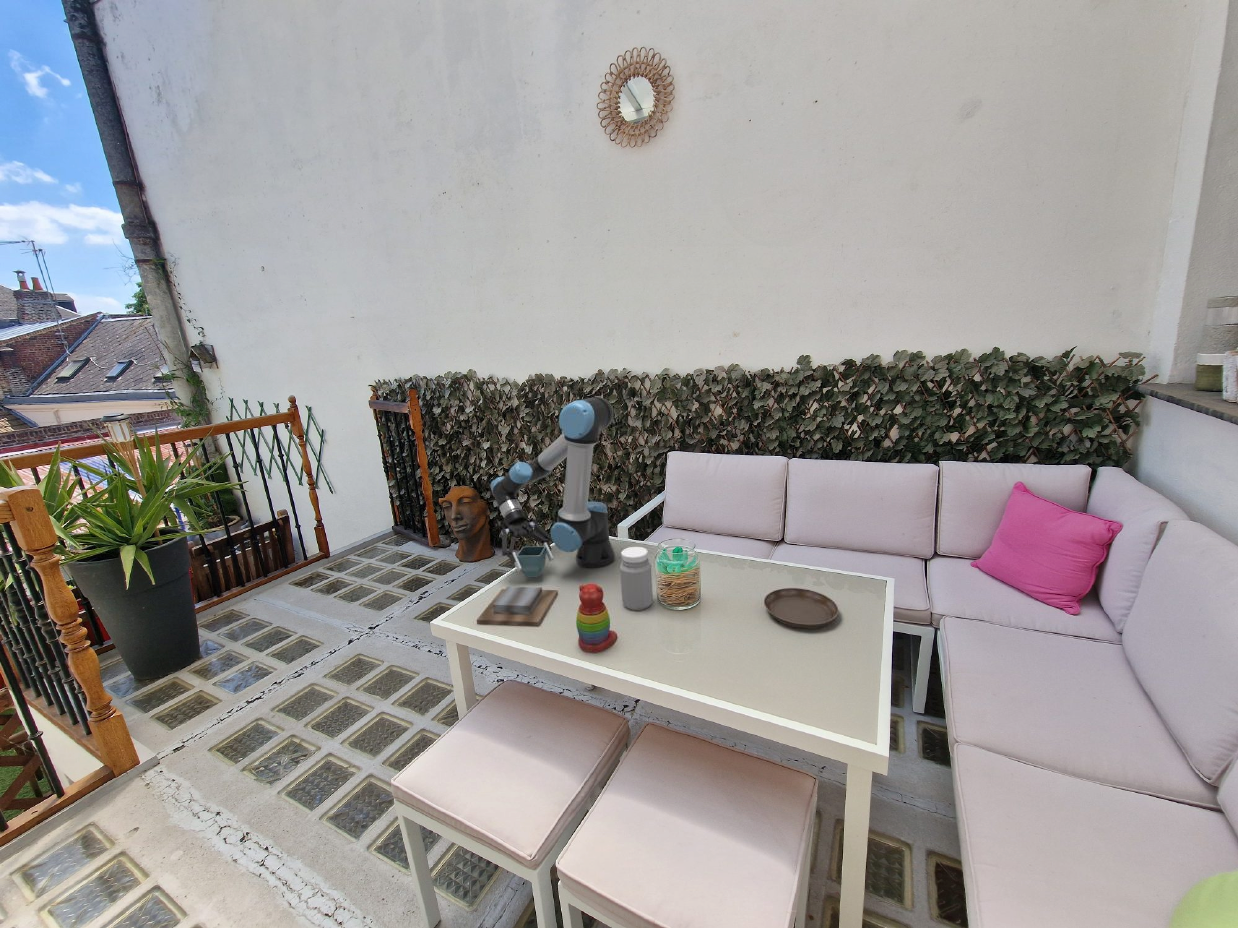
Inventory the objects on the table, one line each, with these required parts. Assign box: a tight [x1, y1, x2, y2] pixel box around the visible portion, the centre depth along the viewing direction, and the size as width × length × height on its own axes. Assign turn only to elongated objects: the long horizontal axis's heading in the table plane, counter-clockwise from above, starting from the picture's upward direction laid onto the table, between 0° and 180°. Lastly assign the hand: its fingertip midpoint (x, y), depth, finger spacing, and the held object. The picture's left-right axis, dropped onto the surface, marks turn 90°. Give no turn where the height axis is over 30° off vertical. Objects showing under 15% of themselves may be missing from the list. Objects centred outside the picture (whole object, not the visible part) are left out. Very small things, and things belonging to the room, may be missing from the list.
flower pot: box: [516, 545, 547, 577], centre depth 182 cm, size 9×9×9 cm
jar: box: [619, 546, 654, 611], centre depth 159 cm, size 10×10×18 cm
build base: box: [476, 586, 559, 627], centre depth 163 cm, size 20×20×4 cm
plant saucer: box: [763, 587, 839, 630], centre depth 149 cm, size 21×21×3 cm
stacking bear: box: [575, 583, 618, 653], centre depth 140 cm, size 11×10×18 cm
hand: (536, 564), depth 180 cm, fingers closed on flower pot, 12 cm apart
